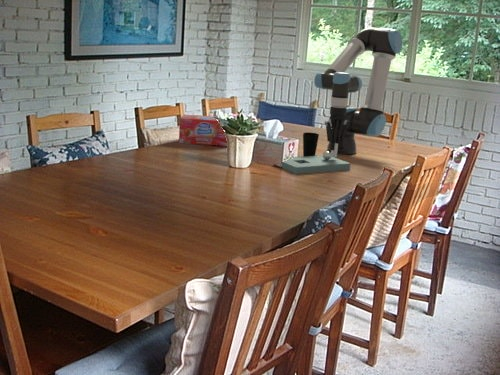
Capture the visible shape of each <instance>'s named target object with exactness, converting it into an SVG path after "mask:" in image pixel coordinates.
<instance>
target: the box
mask: <svg viewBox="0 0 500 375" xmlns="http://www.w3.org/2000/svg"><path fill="white" fill-rule="evenodd" d="M214 117H215V116H212V115H210V116H209V115H198V114H197V115H195V114H183V115H181V116H180V117H179V125H178V126H179V131H178V144H187V145H188V144H189V145H190V144H191V145H201V146H202V145H203V146H212V145H216V146H215V147H226V145H227V141H226V137H225V134H224V131H223V129H222V128H221V126H220V124H219V123H218V121H217V120H216V119H214ZM217 145H219V146H217Z"/></svg>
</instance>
